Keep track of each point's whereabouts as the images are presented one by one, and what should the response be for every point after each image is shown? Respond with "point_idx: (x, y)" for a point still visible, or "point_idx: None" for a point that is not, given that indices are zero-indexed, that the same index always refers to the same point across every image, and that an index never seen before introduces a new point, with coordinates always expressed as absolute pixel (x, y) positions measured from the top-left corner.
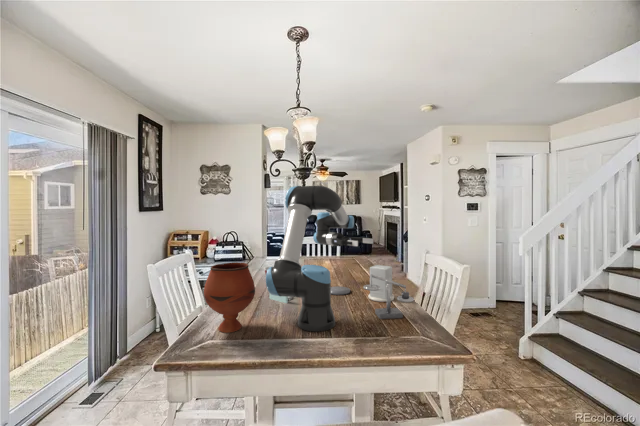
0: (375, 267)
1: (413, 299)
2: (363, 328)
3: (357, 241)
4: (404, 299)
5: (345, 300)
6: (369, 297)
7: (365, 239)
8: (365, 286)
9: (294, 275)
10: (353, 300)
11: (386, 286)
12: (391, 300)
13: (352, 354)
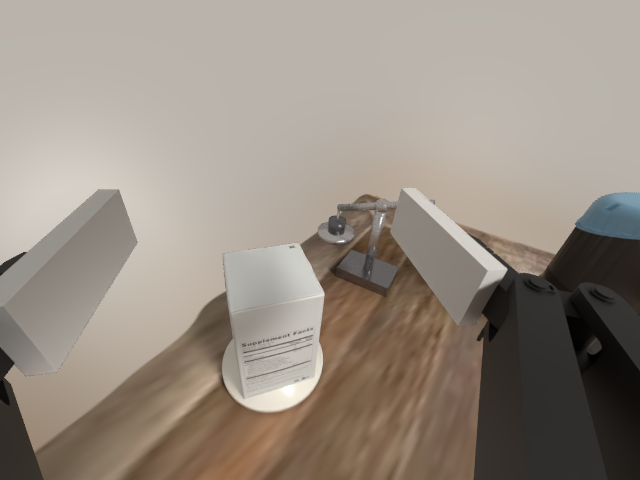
0: (303, 276)
1: (327, 222)
2: None
3: (408, 192)
4: (345, 228)
5: (415, 436)
6: (319, 376)
7: (65, 273)
8: None
9: None
10: (383, 412)
11: (383, 220)
12: None
13: (496, 238)
